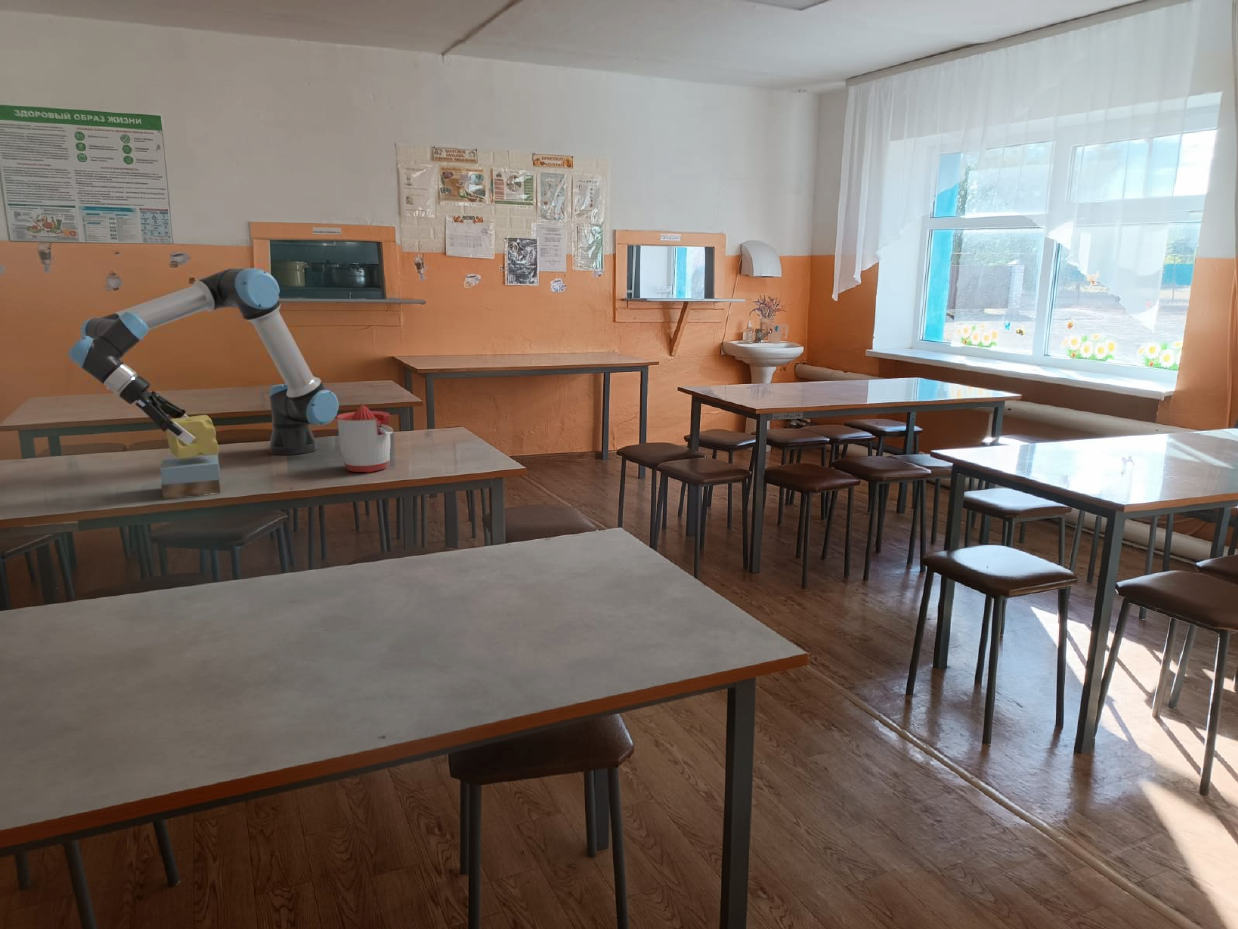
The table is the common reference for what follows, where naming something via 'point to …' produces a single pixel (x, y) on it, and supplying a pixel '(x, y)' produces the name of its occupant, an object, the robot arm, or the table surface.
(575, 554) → the table surface
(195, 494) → the tower base block
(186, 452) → the cheese
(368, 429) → the citrus juicer
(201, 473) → the tower top block
